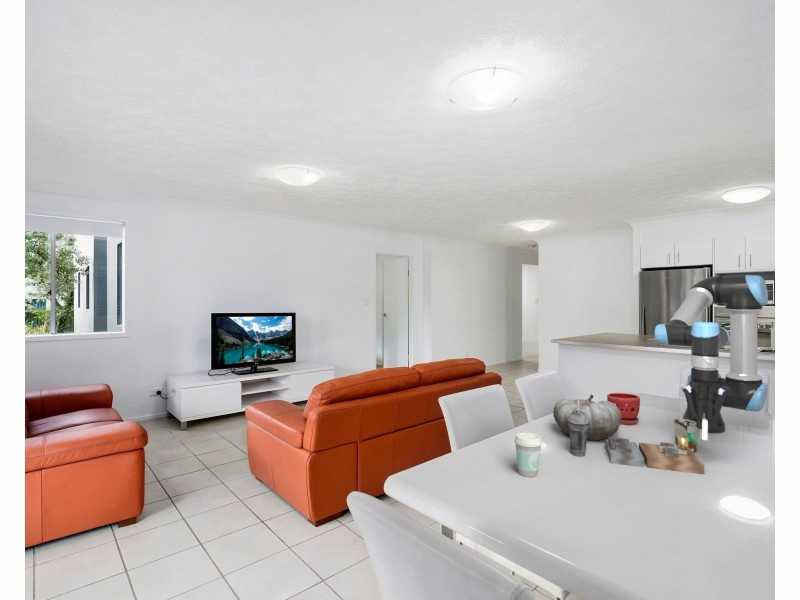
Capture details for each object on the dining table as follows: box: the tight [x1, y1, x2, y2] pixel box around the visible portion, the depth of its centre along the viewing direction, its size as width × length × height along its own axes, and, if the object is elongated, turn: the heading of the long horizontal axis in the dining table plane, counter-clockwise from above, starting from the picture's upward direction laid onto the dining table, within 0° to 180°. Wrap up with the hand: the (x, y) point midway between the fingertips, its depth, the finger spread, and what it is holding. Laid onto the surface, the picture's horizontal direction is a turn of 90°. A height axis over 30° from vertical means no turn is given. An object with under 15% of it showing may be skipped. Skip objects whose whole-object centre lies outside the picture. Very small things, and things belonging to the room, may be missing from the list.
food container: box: [673, 417, 700, 454], centre depth 161 cm, size 12×6×10 cm, turn 168°
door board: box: [605, 436, 705, 475], centre depth 151 cm, size 27×16×5 cm, turn 70°
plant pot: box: [606, 392, 641, 425], centre depth 195 cm, size 13×13×12 cm
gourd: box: [552, 394, 622, 442], centre depth 176 cm, size 25×25×17 cm
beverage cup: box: [568, 399, 589, 458], centre depth 156 cm, size 7×7×20 cm
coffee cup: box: [513, 432, 543, 478], centre depth 140 cm, size 8×8×12 cm
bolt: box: [659, 436, 688, 455], centre depth 149 cm, size 8×3×6 cm, turn 70°
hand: (703, 438), depth 146 cm, fingers closed
